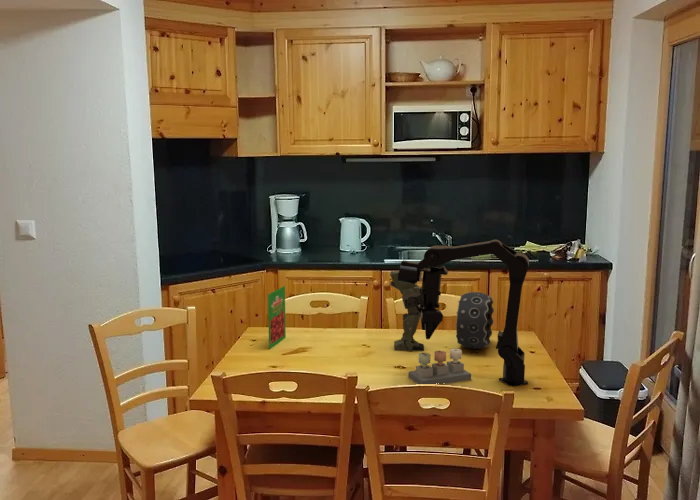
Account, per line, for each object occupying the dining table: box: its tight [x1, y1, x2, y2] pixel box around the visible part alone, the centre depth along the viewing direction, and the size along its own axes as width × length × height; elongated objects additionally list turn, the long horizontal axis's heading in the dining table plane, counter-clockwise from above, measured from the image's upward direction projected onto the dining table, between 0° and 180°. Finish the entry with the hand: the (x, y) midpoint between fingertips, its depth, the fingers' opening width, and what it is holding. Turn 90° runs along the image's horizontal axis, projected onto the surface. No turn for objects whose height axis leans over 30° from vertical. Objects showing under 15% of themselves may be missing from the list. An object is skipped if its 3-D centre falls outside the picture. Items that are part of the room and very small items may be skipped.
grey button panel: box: [408, 360, 472, 385], centre depth 201 cm, size 9×17×4 cm, turn 112°
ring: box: [455, 291, 495, 350], centre depth 231 cm, size 11×20×20 cm, turn 160°
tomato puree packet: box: [267, 285, 287, 350], centre depth 235 cm, size 15×1×20 cm, turn 163°
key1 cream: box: [449, 348, 463, 364], centre depth 203 cm, size 4×4×5 cm
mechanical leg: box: [389, 269, 425, 352], centre depth 229 cm, size 14×7×30 cm, turn 84°
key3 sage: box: [418, 352, 431, 369], centre depth 198 cm, size 4×4×5 cm
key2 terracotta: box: [433, 350, 447, 366], centre depth 200 cm, size 4×4×5 cm
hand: (425, 334), depth 204 cm, fingers open, 9 cm apart
